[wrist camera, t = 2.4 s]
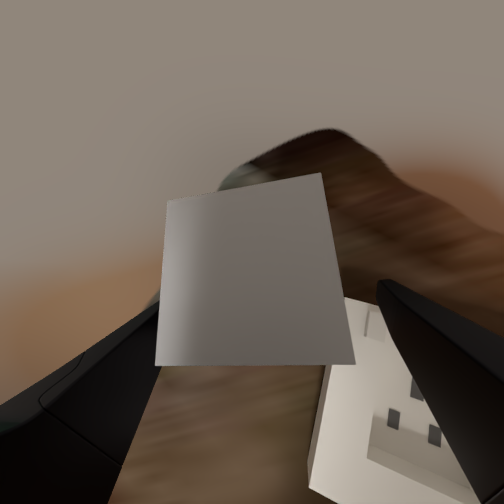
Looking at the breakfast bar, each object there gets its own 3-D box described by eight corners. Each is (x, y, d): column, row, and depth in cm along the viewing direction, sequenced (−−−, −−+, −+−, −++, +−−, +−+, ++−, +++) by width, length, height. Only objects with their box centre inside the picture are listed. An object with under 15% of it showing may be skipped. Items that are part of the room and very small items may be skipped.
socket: (522, 569, 10) (595, 653, 8) (307, 460, 13) (309, 495, 11) (523, 348, 13) (580, 358, 10) (338, 298, 16) (346, 296, 13)
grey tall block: (313, 324, 16) (355, 364, 4) (256, 326, 17) (154, 366, 5) (306, 266, 17) (321, 172, 5) (252, 271, 18) (167, 200, 6)
